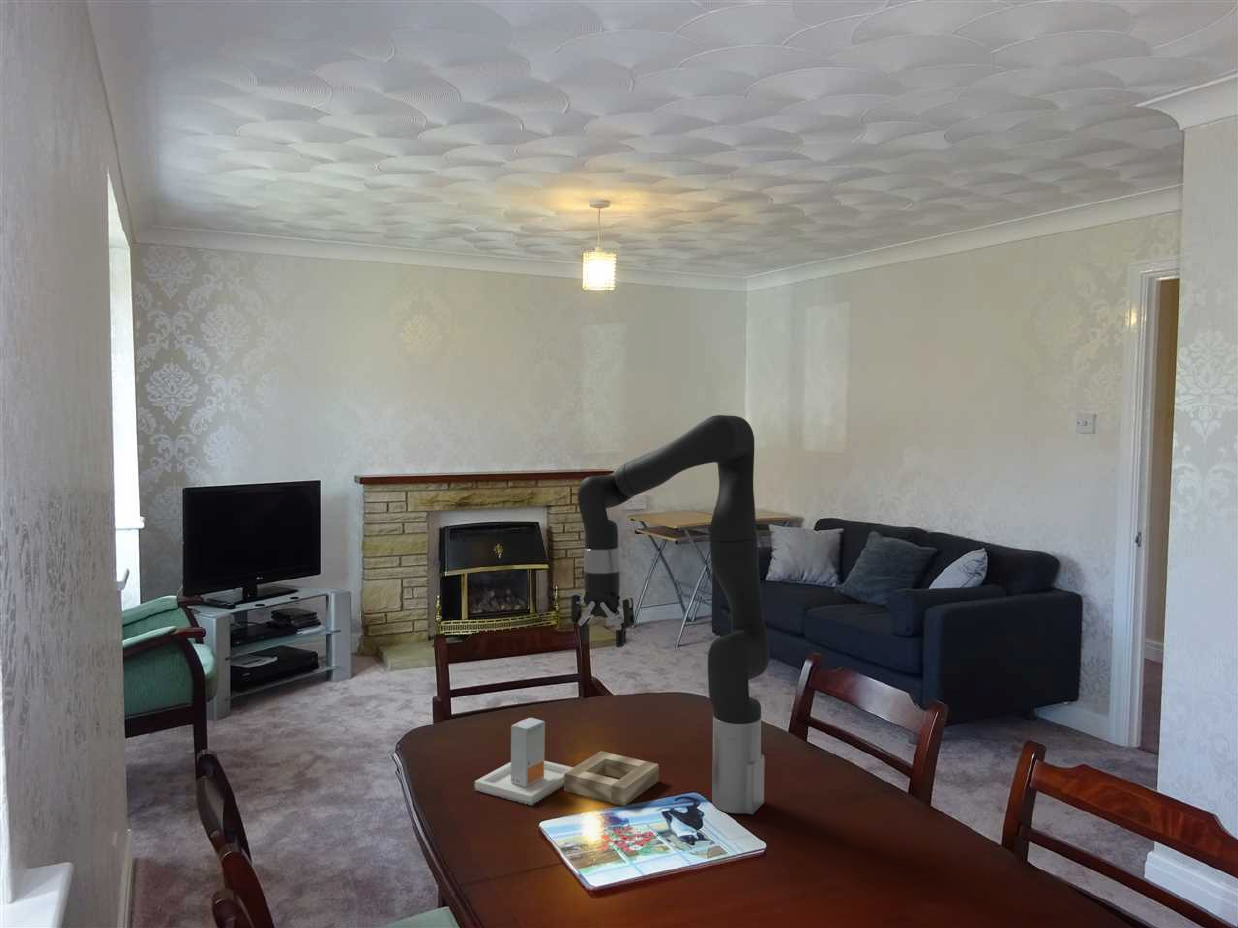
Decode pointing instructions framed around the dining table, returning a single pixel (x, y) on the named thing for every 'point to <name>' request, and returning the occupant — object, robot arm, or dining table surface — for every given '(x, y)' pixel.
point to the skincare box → (527, 751)
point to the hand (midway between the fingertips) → (602, 644)
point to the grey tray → (502, 786)
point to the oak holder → (596, 785)
